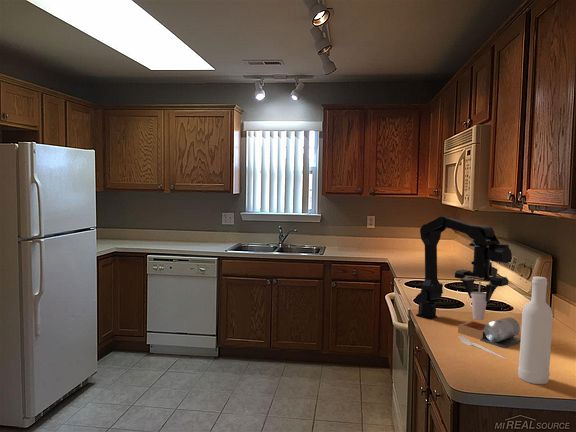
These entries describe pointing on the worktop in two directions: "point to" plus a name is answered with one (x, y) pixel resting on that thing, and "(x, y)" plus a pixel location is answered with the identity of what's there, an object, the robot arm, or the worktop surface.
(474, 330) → the motor unit
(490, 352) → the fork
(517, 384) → the worktop surface
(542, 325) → the bottle
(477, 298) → the white cup with straw
